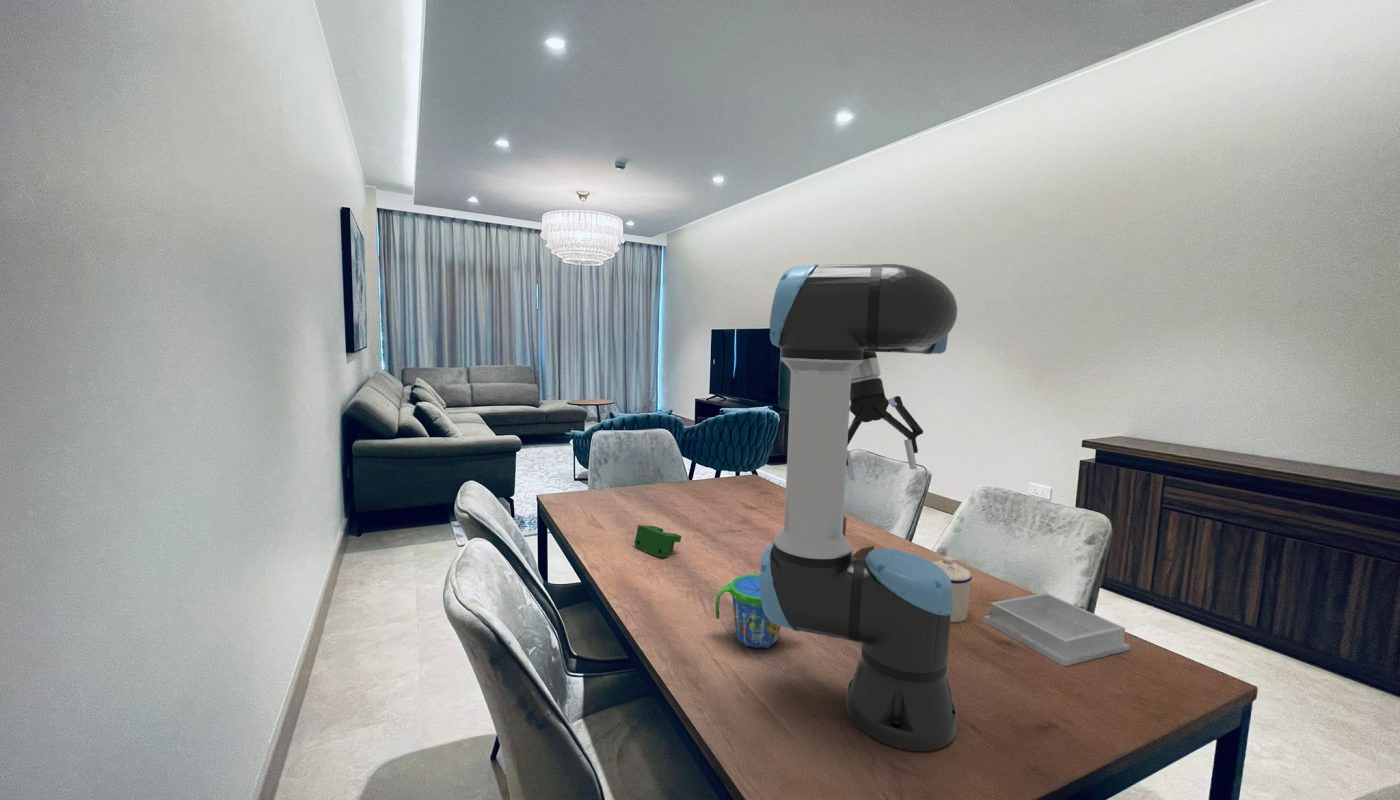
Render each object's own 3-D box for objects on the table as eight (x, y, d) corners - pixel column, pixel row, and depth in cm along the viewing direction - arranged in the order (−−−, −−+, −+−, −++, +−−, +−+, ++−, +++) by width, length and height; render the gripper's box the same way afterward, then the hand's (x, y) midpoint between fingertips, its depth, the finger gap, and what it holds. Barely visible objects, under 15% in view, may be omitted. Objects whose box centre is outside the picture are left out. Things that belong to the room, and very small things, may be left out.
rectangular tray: (1064, 666, 97) (1066, 644, 97) (982, 620, 113) (984, 601, 113) (1129, 650, 104) (1131, 629, 103) (1043, 609, 119) (1045, 590, 119)
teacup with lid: (975, 614, 116) (979, 558, 115) (957, 628, 110) (962, 570, 109) (918, 594, 125) (922, 543, 124) (899, 607, 118) (902, 552, 117)
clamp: (671, 569, 145) (687, 541, 143) (654, 570, 141) (670, 540, 139) (647, 540, 153) (662, 512, 151) (630, 539, 149) (645, 511, 147)
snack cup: (801, 631, 107) (804, 579, 106) (798, 661, 96) (801, 603, 96) (720, 620, 110) (722, 569, 109) (708, 647, 100) (710, 592, 99)
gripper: (914, 371, 130) (933, 463, 129) (806, 391, 131) (824, 482, 130) (925, 368, 123) (945, 465, 121) (811, 389, 124) (830, 485, 122)
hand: (882, 474), depth 125 cm, fingers open, 13 cm apart
